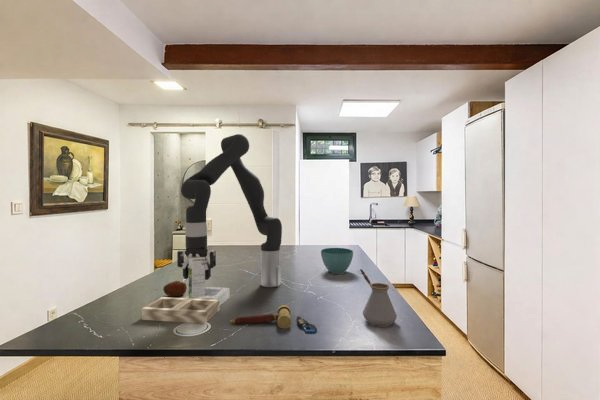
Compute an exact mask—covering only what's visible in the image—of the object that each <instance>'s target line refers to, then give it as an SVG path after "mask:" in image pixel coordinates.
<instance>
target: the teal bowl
mask: <svg viewBox="0 0 600 400" xmlns="http://www.w3.org/2000/svg"><path fill="white" fill-rule="evenodd" d="M320 253H321V254H320V255H321V259H322V263H323V265H324V266H325V268H326V270H327V271H328V272H329V273H330V274H333V273H334V275H340V274H341V273H342V274H344V273H345V272H346V271H347V270H348V268H349V267H350V265H351V264H352V260H353V256H354V250H352V249H350V248H346V247H345V248H344V247H326V248H323V249H321V250H320Z"/></svg>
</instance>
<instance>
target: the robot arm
mask: <svg viewBox="0 0 600 400" xmlns="http://www.w3.org/2000/svg"><path fill="white" fill-rule="evenodd" d="M220 147H221V151H222V153H220V154H219V155H217V156H215V157H214V158H212V159H211V160H210V161H208V162H207V163H206V164H205V165H204V167H202V168H201V170H199V171H198V172H196V173H194V174H192V175H191V176H190V177H188V178H187V179H186V180H185V181H184V182H183V183H182V185H181V188H180V192H181V193H180V194H181V195H182V197H184V198H185V199H187V200H194V202H193V205H189V206H187V207H186V210H185V228H184V229H185V231H184V232H185V233H184V234H185V250H184V249H180V250H178V251H177V268H181V269H182V278H183V279H184V280H188V265H189V257H193V256H195V257H205V261H204V260H203V259H202V258H201V261H202V262H201V264H202V265H204V268H205V281H208V280H209V279H210V278H211V275H212V273H211V271H212V269H213V268H215V267H216V266H217V262H216V261H217V260H216V257H217V256H216V255H217V254H216V250H212V251H211V250H208V225H207V210H208V206H209V203H210V198H211V194H212V190H211V189H212V188H211V186H213V185H215V183H216V182H217V181H218V180H219V179H220V178H221V176H223V174H225V172H226V171H227V170H229V168H230V169H232V172H233V174H234V176H235V177H236V180H237V182H238V185H239V186H240V189H241V191H242V193H243V195H244V197H245V199H246V201H247V204H248V206H249V208H250V211H251V213H252V216H253V220H254V222H255V225H256V228H257V231H258V232H259V233H260V234H261V235H263V236H266V241H265V242H263V243H261V244H260V286H261V287H264V288H275V287H276V288H278V287H279V286H280V285H281V283H282V280H281V279H282V276H281V275H282V272H281V271H282V265H281V262H280V261H281V260H280V257H281V253H280V252H281V244H282V233H283V227H282V221H281V220H280V219H279V218H277V217H273V216H272V217H271V216H269V214H268V213H267V211H266V209H265V205H264V202H265V191H264V187H263V186H262V183H261V181H260V179H259V177H258V176H257V174H255V173H254V172H253V171H251V170H250V169H249V167H247V166H246V165H245V164H244V162H243V160H242V159H241V158H242V157H243V156H244V155H246V154H247V153H248V151H249V149H250V141H249V140H248V137H247V136H246V135H244V134H241V133H239V134H232V135H230V136H229V135H228V136H227V137H223V138H222V140H221V141H220ZM185 256H186V259H185ZM207 256H208V257H209V259H208V257H207Z"/></svg>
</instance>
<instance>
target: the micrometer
mask: <svg viewBox="0 0 600 400" xmlns="http://www.w3.org/2000/svg"><path fill="white" fill-rule="evenodd" d="M296 323H297V326H298V328H300V329H302V330H304V331H305V333H306V334H307V333H311V334H314V333H317V332H318V328H317V327H316V325H315V324H312V323H309V322H308V321H307V320H305V319H304V318H302V317H301V316H299V315H298V316H297V317H296Z"/></svg>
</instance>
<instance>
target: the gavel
mask: <svg viewBox="0 0 600 400" xmlns="http://www.w3.org/2000/svg"><path fill="white" fill-rule="evenodd" d="M290 315H291V309H290V307H289V306H288V305H286V304H282V305H279V306H278V308H277V313H267V314H266V313H265V314H264V313H263V314H257V315H254V314H253V315H246V316H245V315H244V316H238V317H236V318H234V319H230V324H235V325H249V324H259V323H269V322H270V323H271V322H274V321H275V322H276V321H277V326H278V328H280V329H289V328H290V327H291V326H292V319H291V318H292V317H291V316H290Z"/></svg>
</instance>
